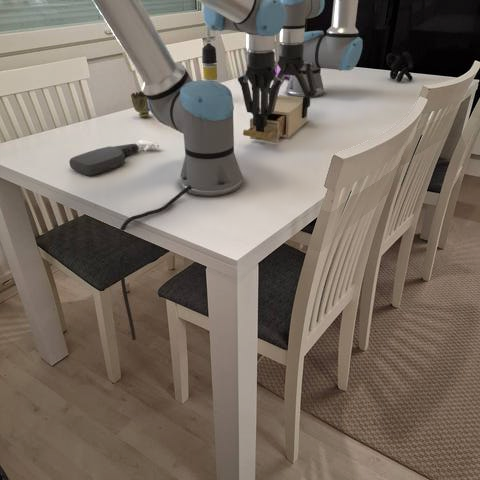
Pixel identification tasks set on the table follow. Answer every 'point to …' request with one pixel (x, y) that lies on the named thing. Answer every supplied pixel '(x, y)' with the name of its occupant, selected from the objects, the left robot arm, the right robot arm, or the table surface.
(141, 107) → the olive irregular piece
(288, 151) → the table surface
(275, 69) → the bracket
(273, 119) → the drawer
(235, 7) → the left robot arm
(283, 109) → the wooden box
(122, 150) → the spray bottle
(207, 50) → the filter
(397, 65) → the squiggle
